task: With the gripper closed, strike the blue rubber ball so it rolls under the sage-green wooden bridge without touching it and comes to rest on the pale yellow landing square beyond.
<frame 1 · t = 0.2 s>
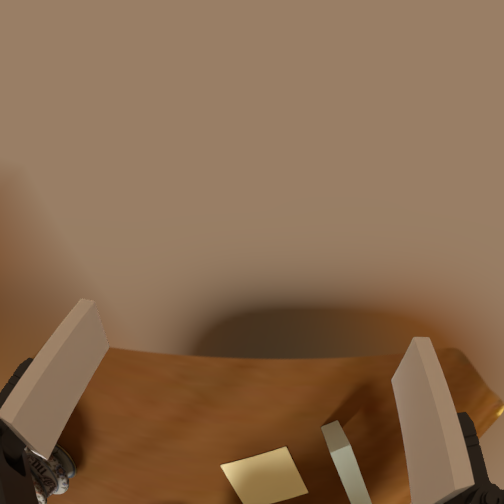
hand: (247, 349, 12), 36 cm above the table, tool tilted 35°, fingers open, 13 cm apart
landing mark: (265, 480, 44), on the table
apothecary jar: (59, 459, 46), on the table
bridge: (341, 454, 43), on the table
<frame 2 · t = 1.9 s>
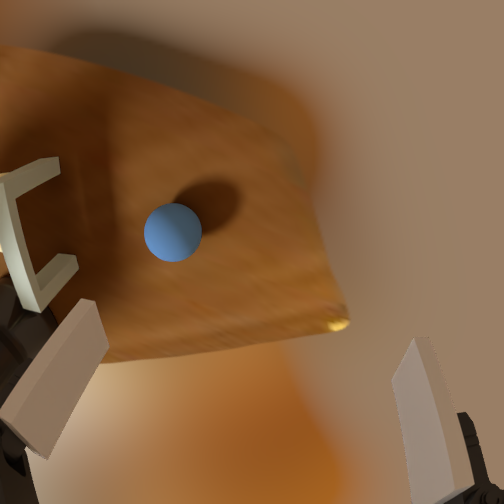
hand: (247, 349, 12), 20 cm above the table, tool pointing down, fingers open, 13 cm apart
ball: (172, 232, 29), on the table
bridge: (58, 215, 32), on the table
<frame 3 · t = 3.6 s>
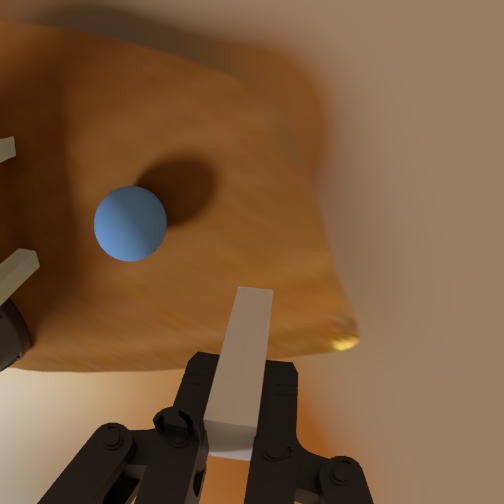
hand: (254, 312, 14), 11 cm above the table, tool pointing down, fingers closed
ball: (130, 223, 22), on the table
bridge: (15, 205, 25), on the table
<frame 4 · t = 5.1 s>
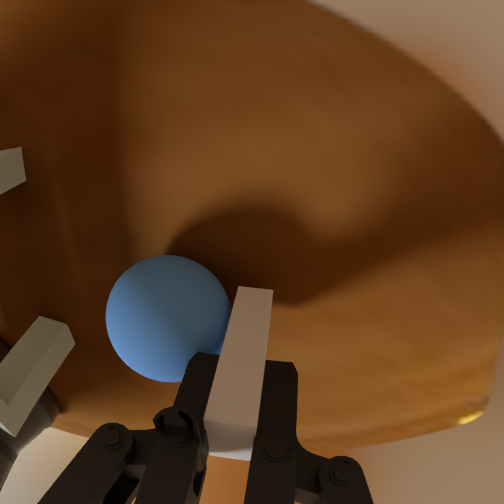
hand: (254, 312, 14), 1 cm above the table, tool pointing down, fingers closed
ball: (168, 318, 13), on the table
bridge: (30, 258, 16), on the table
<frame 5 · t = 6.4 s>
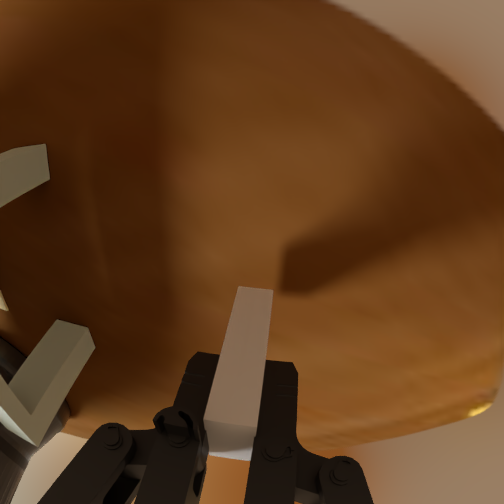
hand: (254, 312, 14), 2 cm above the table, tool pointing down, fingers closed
bridge: (50, 260, 17), on the table
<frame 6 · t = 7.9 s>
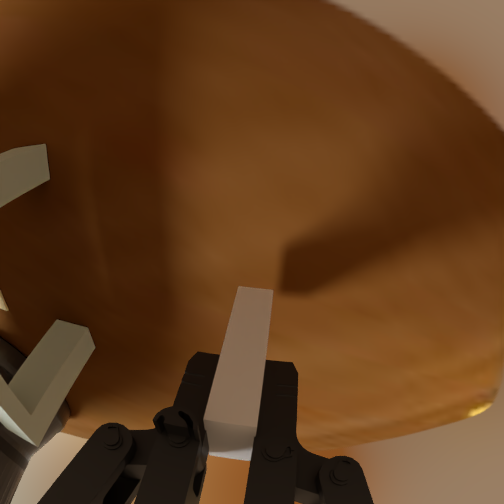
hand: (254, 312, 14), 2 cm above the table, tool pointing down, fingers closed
bridge: (50, 260, 17), on the table
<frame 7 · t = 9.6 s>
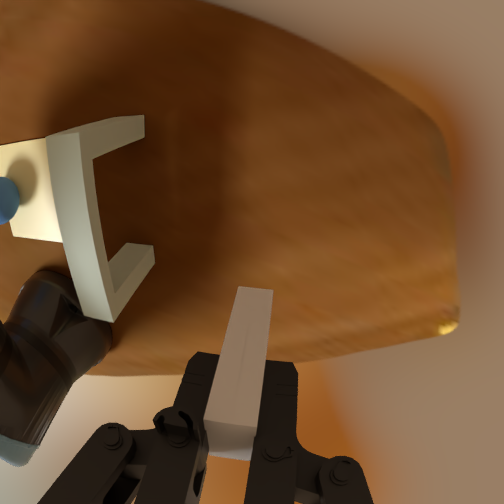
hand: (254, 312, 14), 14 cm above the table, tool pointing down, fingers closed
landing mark: (32, 191, 28), on the table
bridge: (133, 193, 27), on the table
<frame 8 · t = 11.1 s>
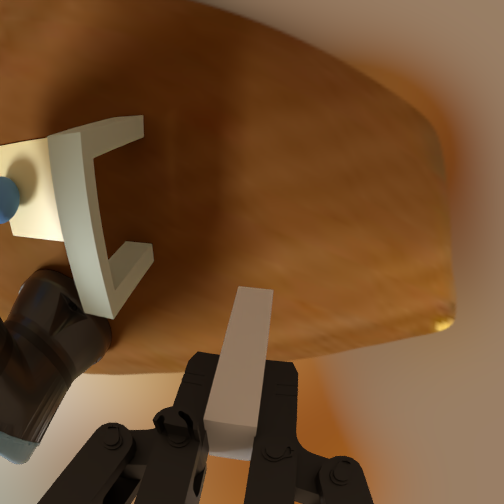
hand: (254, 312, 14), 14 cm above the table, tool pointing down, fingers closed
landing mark: (32, 191, 29), on the table
bridge: (132, 192, 27), on the table
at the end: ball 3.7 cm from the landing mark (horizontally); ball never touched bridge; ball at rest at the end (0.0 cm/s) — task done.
